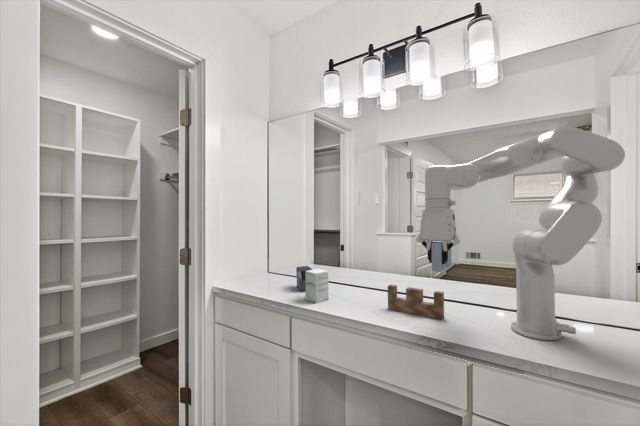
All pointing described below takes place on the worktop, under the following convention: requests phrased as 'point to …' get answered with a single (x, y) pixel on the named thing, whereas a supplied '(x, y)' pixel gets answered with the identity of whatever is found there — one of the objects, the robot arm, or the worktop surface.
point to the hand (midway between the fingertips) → (437, 262)
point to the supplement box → (316, 285)
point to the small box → (302, 277)
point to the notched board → (416, 302)
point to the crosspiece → (439, 257)
